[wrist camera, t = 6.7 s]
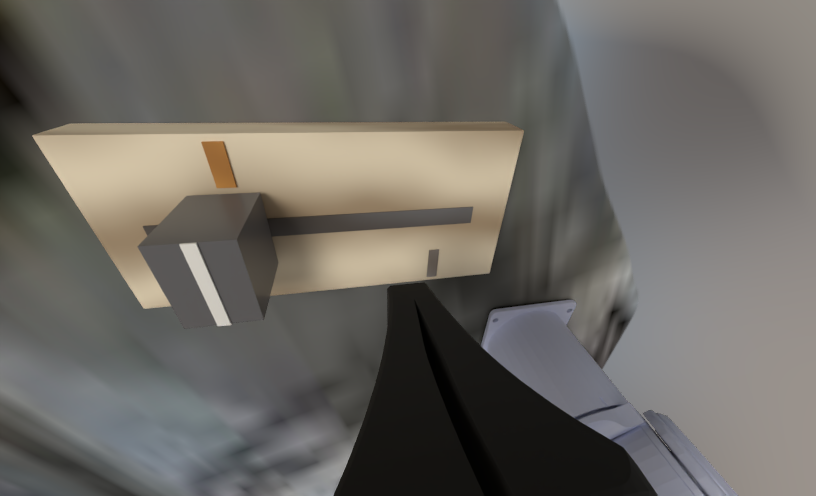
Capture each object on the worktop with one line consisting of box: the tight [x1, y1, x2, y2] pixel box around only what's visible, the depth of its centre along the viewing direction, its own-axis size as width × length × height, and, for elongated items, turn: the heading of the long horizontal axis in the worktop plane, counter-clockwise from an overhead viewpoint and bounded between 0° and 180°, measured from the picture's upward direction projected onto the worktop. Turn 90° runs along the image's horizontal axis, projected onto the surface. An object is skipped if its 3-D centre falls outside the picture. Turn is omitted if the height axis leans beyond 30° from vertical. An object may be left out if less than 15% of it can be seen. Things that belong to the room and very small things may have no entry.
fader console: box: [32, 122, 524, 309], centre depth 16 cm, size 9×20×2 cm, turn 87°
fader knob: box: [137, 192, 278, 329], centre depth 13 cm, size 4×3×4 cm
